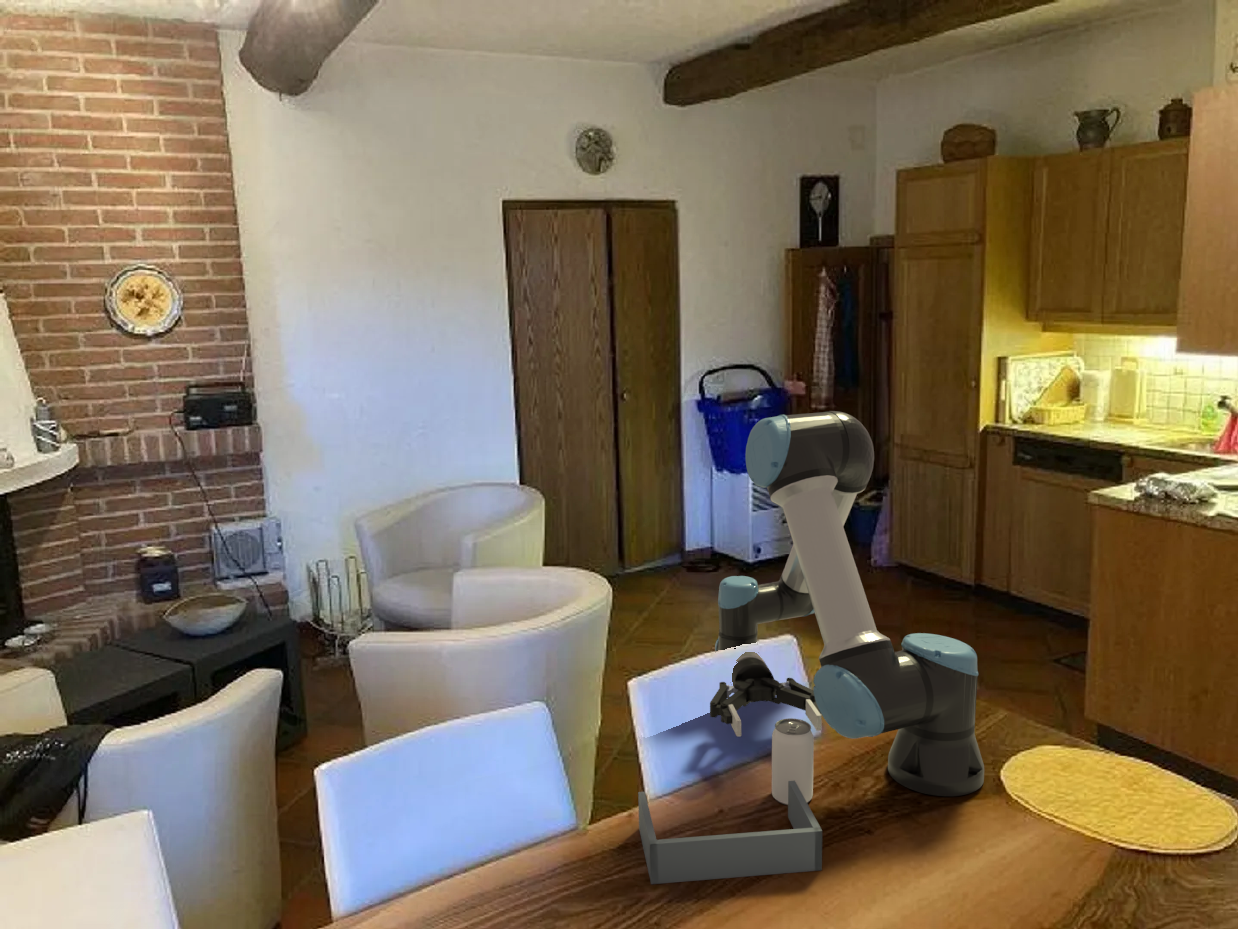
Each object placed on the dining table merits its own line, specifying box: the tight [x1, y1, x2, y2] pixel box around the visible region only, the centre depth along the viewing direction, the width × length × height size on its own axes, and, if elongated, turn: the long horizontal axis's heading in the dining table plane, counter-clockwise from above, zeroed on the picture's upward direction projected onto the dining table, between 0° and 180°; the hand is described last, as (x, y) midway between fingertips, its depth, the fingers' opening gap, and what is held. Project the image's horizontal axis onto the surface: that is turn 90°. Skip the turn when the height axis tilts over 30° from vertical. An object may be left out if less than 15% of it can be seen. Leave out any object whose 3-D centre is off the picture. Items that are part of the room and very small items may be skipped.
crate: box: [637, 781, 823, 885], centre depth 142 cm, size 14×24×6 cm, turn 96°
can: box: [771, 717, 815, 806], centre depth 155 cm, size 6×6×12 cm
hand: (779, 726), depth 163 cm, fingers open, 13 cm apart
